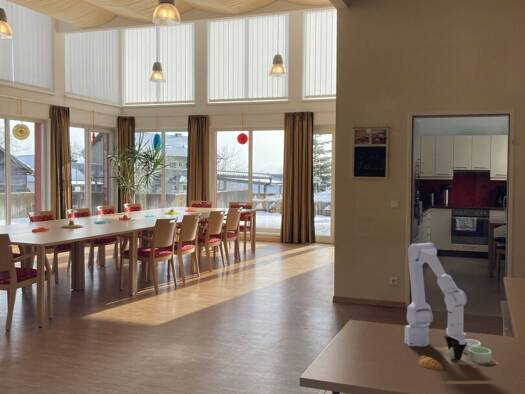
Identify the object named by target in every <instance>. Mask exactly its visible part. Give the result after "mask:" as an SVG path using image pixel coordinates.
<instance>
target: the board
mask: <svg viewBox="0 0 525 394" xmlns="http://www.w3.org/2000/svg"><path fill="white" fill-rule="evenodd" d="M433 348H434V349H435V351H437V352H438V353H439V354H440V355H441V356H442V357H443V358H444V359H445V360H446V361H447V362H448V363H449V364H450V365H451V366H455V365H456V366H457V365H459V366H460V365H463V366H464V365H466V366H469V365H472V366H473V365H499V363H498V362H497V361H496V360H495V359H493V358H492V357H491V362H488V363H479V362H474V361H471V360H469V359H468V354H467V353H463V354H462V357H461V360H454V359H452V358H451V357H450V356H449V353H448V351H449V349H448V346H445V347H444V346H440V347H439V346H438V347H433Z"/></svg>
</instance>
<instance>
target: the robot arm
mask: <svg viewBox="0 0 525 394" xmlns="http://www.w3.org/2000/svg"><path fill="white" fill-rule="evenodd" d="M437 255H438V250H437V249H436V246H435V244H434V243H433V242H430V241H429V242H424V243H423V242H422V243H421V242H420V243H411V244H410V245H409V247H407V258H408V267H409V268H408V269H409V277H410V278H409V281H410V291H411V303H410V304H409V305H408V306H407V307H406V309H407V311H406V322H407V323H408V325H405V326H404V342H403V343H404V344H406V345H407V346H408V347H427V346H429V326H430V325H431V323H432V322H433V319H434V316H433V315H434V314H433V312H432V309H431V305H430V304H428V303H427V302H426V295H425V294H426V293H425V292H426V291H425V282H424V281H425V280H424V272H423V271H424V270H423V265H424V264H425V263H427V264H428V266H429V267H430V269H431V270H432V272H433V273H434V274H435V276H436V277H437V281H436V283H437V284H438V287H439V288H440V290H441V292H442V294H443V295H444V298H443V299H444V304H445V305H446V311H447V327H446V328H445V333H446V335H443V336H444V339H445V342H446V345H447V347H448V349H450V348H451V347H453V350H454V357H455V360H461V357H462V354H463V351H464V348H465V347H466V345H467V343H466V342H465V339H466V338H465V337H466V336H467V333H466V332H464V306H466V304H467V302H468V297H467V294H466V293H465V291H463V290H461V289H460V288H458V286H457V284H456V283H455V281H454V279H453V277H452V276H451V275H450V274H447V273H446V271H445V270H444V267H443V265H442V264H441V261H440V259H439V257H438V256H437Z"/></svg>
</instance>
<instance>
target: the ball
mask: <svg viewBox="0 0 525 394" xmlns="http://www.w3.org/2000/svg"><path fill="white" fill-rule="evenodd" d="M448 353H449V356H450V357H451V358H452V359H454V360H455V357H454V350H453V347H451V348H450V349H449V351H448Z"/></svg>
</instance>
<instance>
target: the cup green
mask: <svg viewBox="0 0 525 394" xmlns="http://www.w3.org/2000/svg"><path fill="white" fill-rule="evenodd" d="M491 358H492V350H491V349H489V348H487V347H485V346H484V347H483V346H481V347H469V348H468V359H469V360H471V361H474V362H479V363H488V362H491Z"/></svg>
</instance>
